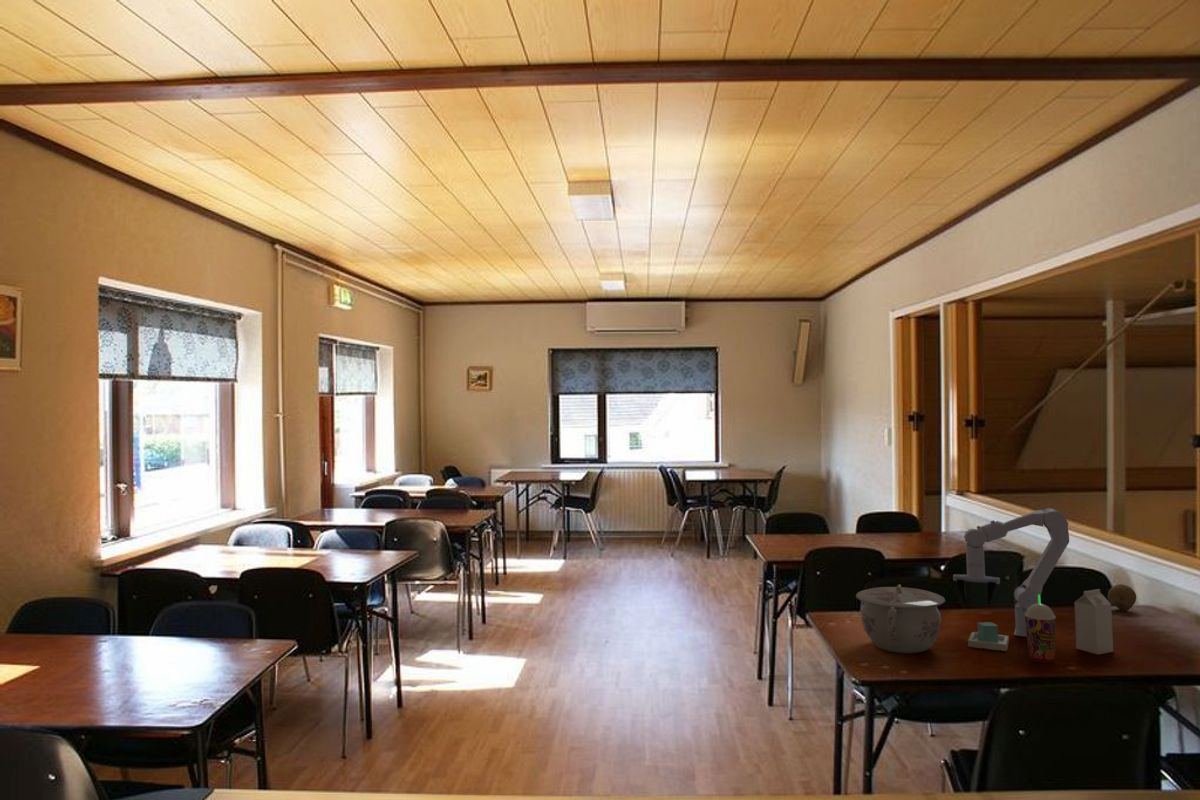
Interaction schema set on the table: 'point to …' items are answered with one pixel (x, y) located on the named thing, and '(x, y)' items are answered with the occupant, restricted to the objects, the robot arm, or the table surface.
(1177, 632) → the table surface
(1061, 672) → the table surface
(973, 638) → the tray
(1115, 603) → the brown coconut
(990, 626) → the block
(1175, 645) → the table surface
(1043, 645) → the smoothie
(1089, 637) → the milk carton
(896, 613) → the chamber pot
